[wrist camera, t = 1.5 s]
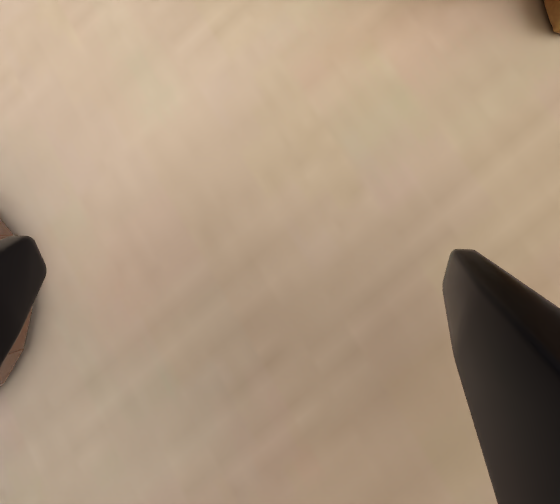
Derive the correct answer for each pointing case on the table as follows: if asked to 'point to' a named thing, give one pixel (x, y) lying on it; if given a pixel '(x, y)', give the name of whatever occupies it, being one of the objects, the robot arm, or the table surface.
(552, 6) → the stuffed squirrel
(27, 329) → the bowl
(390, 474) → the table surface
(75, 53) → the table surface
